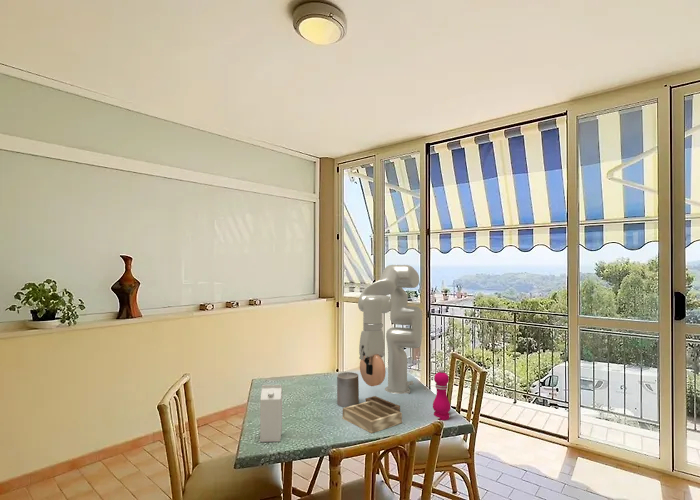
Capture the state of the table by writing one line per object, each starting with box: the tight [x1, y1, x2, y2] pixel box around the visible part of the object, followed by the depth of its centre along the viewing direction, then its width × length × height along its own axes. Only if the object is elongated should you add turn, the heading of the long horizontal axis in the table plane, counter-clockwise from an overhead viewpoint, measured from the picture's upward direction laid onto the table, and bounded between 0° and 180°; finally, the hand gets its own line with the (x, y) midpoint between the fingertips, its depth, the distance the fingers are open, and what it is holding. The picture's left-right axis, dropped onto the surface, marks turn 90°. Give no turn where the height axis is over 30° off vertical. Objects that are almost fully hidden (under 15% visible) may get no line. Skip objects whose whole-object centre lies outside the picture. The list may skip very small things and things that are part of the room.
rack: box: [342, 400, 403, 434], centre depth 159 cm, size 16×18×5 cm
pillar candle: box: [336, 371, 360, 408], centre depth 178 cm, size 10×10×15 cm
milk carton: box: [259, 384, 283, 443], centre depth 146 cm, size 7×7×19 cm
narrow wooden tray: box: [365, 395, 401, 412], centre depth 173 cm, size 6×16×3 cm, turn 38°
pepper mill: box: [432, 368, 451, 421], centre depth 166 cm, size 7×7×20 cm
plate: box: [359, 354, 387, 387], centre depth 160 cm, size 2×13×13 cm, turn 38°
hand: (372, 373), depth 160 cm, fingers closed on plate, 2 cm apart
